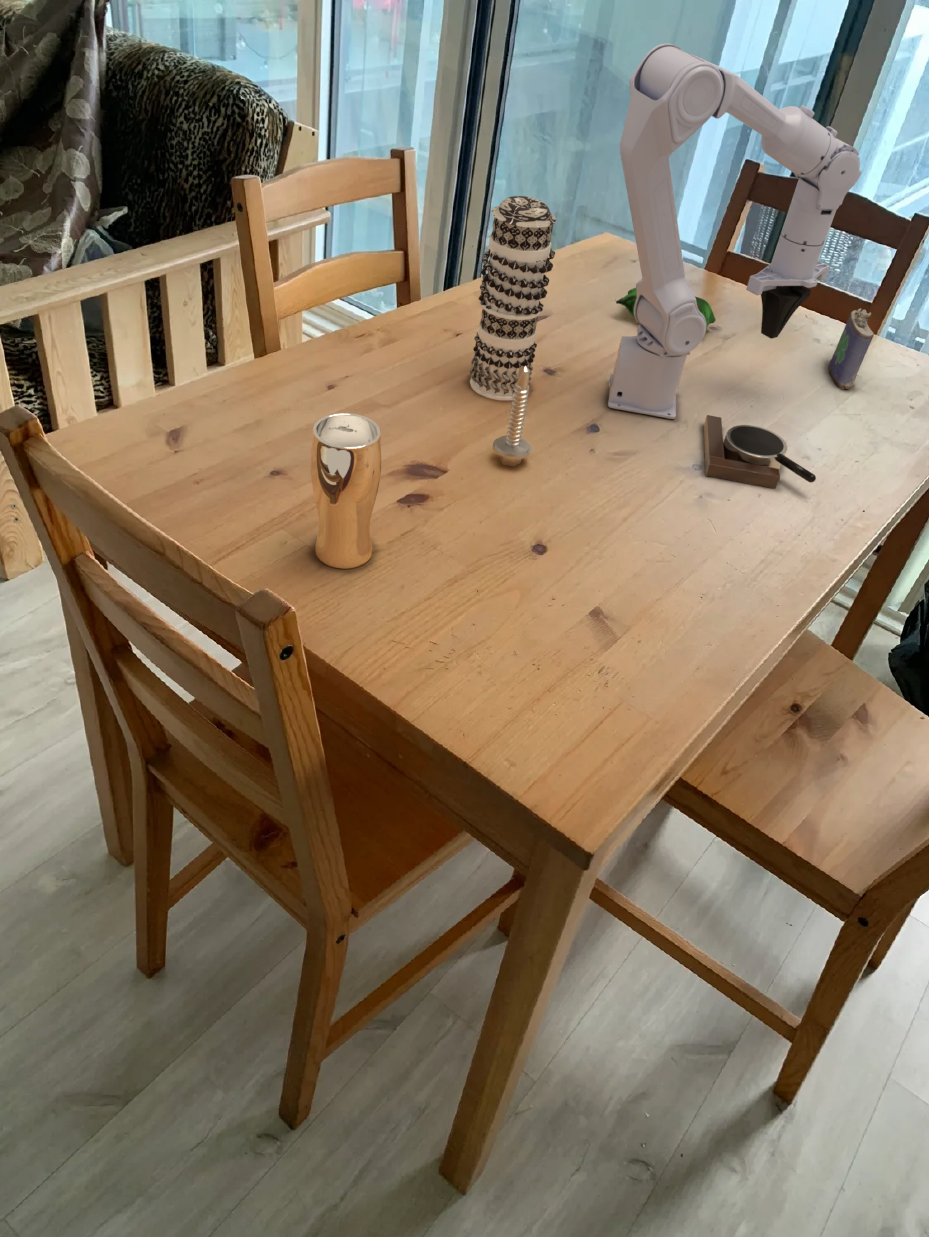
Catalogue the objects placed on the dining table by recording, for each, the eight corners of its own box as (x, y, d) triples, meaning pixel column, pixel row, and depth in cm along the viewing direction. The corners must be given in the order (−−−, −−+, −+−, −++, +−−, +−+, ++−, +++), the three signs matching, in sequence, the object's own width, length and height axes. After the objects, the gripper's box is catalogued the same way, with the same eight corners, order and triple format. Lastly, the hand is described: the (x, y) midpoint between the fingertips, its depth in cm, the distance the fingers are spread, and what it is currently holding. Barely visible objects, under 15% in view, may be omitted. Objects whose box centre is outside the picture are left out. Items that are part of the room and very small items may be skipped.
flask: (853, 391, 142) (881, 324, 135) (833, 388, 142) (860, 321, 135) (843, 364, 149) (869, 299, 142) (824, 361, 149) (850, 296, 142)
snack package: (624, 304, 158) (631, 274, 154) (713, 329, 154) (722, 299, 150) (611, 319, 153) (617, 288, 149) (702, 345, 149) (711, 314, 145)
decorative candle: (542, 398, 130) (576, 215, 113) (481, 405, 127) (507, 217, 110) (516, 368, 136) (544, 189, 119) (457, 373, 133) (478, 190, 116)
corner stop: (705, 476, 119) (709, 464, 118) (703, 426, 129) (706, 414, 128) (775, 488, 119) (780, 477, 118) (767, 437, 129) (772, 426, 127)
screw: (495, 447, 119) (532, 455, 118) (486, 465, 116) (524, 475, 115) (510, 353, 110) (549, 361, 110) (500, 370, 107) (541, 379, 106)
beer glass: (343, 523, 104) (346, 404, 94) (389, 552, 101) (397, 432, 91) (297, 550, 99) (295, 427, 89) (343, 580, 96) (347, 457, 86)
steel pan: (707, 452, 124) (714, 431, 122) (747, 438, 128) (754, 418, 126) (786, 506, 116) (795, 484, 114) (826, 490, 120) (835, 468, 118)
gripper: (790, 256, 116) (756, 356, 125) (860, 242, 123) (823, 338, 133) (748, 236, 120) (718, 334, 129) (818, 223, 127) (785, 317, 137)
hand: (769, 335), depth 131 cm, fingers closed
